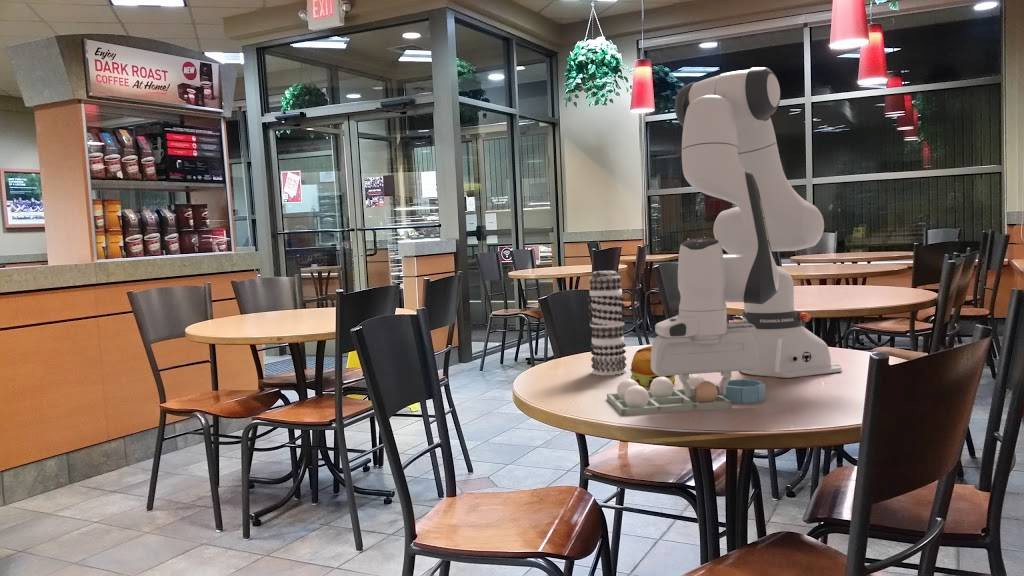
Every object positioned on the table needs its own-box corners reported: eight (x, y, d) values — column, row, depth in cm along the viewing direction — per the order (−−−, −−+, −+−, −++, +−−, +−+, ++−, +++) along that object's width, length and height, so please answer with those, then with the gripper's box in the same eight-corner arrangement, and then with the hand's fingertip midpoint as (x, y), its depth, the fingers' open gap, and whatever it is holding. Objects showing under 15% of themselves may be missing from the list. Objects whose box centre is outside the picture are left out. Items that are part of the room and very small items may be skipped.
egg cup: (755, 395, 154) (754, 377, 154) (772, 404, 146) (771, 385, 146) (714, 398, 154) (713, 380, 153) (729, 407, 145) (728, 388, 145)
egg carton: (707, 395, 156) (706, 370, 156) (732, 411, 142) (731, 383, 142) (607, 402, 155) (606, 376, 154) (622, 419, 141) (621, 390, 140)
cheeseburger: (680, 380, 173) (678, 339, 170) (675, 401, 163) (672, 359, 160) (635, 379, 176) (632, 339, 173) (628, 400, 166) (624, 358, 163)
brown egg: (713, 401, 148) (712, 377, 148) (721, 406, 144) (721, 382, 143) (690, 402, 148) (689, 379, 147) (698, 408, 143) (697, 384, 143)
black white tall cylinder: (589, 376, 184) (584, 273, 182) (591, 369, 193) (587, 270, 191) (627, 375, 182) (622, 271, 181) (628, 368, 191) (624, 269, 190)
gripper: (749, 318, 148) (752, 388, 149) (646, 325, 147) (649, 395, 148) (762, 322, 142) (765, 395, 143) (655, 329, 141) (658, 402, 142)
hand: (705, 395), depth 146 cm, fingers closed on brown egg, 5 cm apart
